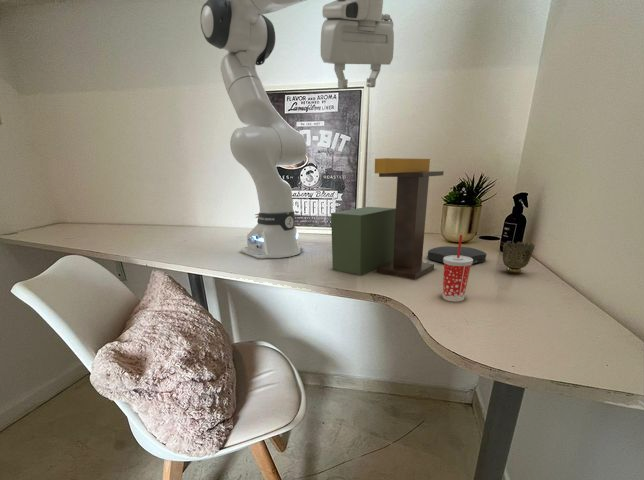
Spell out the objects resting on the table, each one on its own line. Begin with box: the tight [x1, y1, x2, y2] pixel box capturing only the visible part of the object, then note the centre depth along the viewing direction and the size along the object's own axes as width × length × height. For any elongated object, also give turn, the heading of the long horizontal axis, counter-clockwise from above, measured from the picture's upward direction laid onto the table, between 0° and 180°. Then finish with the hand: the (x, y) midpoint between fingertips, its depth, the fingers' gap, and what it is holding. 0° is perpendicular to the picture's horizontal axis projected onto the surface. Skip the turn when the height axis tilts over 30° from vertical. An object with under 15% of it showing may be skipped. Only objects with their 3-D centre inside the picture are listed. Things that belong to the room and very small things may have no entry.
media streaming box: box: [427, 245, 487, 265], centre depth 105 cm, size 15×15×3 cm
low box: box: [330, 206, 396, 276], centre depth 98 cm, size 10×18×16 cm, turn 142°
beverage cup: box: [442, 234, 473, 303], centre depth 72 cm, size 6×6×14 cm
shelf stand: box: [376, 170, 444, 281], centre depth 90 cm, size 12×12×26 cm
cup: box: [502, 240, 536, 275], centre depth 90 cm, size 8×7×8 cm
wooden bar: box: [374, 157, 431, 174], centre depth 81 cm, size 3×22×3 cm, turn 142°
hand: (357, 87), depth 81 cm, fingers open, 8 cm apart
